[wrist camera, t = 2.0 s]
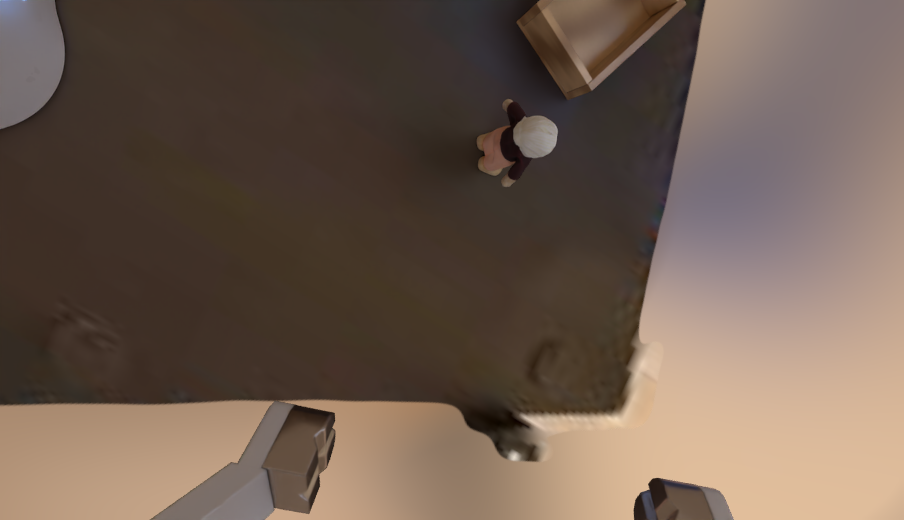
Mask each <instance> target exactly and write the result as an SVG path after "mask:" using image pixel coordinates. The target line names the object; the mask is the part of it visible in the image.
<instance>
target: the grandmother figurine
mask: <svg viewBox="0 0 904 520" xmlns="http://www.w3.org/2000/svg"><path fill="white" fill-rule="evenodd" d="M503 109H504V110H505V111H506V112H507V114H508V118H509V121H510V126H504V127H501V128H498V129H496V130H494V131H493V132H490V133H486V134H483V135H480V136H479V137H478V138H477V147H478V149H480V150H482V151H484V153H485V156H482V157H481V158H480V159H479V161H478V168H479V169H480V170H481V171H483V172H485V173H487V174H490V175H493V176H496V175H498V174H499V173H500V172H501V171H502V168H505V167H508V166H510V165H512V164H513V163H515V164H514V165H513V166H512V167H511V168H510V170H509V172H508V173H507V174H506V176H505V177H503V179H502V181H501V183H502V185H503V186H505V187H509V186H511V184H512V183H514V182H515V181H516V180H518V179H519V178H520V176H521V175H522V173H523V172H524V170H525V168H526V167H527V166H528V165H529V163H530V161H531V159H532V158H537V157H543V156H545V155H547V154H549V153H550V152H551V151H552V150H553V148H554V147H555V145H556V141H557V133H558V130H557V127H556V125H555V124H554V123H553V122H552V121H550V120H549V119H547V118H546V117H543V116H531V117H528V118H527V116H526V114H525V112H524V111H523V110H522V108H521V107H520V105H519V104H518V103H517V102H513V101H512V100H510V99H507V100H505V101H504V102H503Z"/></svg>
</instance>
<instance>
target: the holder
mask: <svg viewBox="0 0 904 520" xmlns="http://www.w3.org/2000/svg"><path fill="white" fill-rule="evenodd" d="M685 5H686V3H685V1H684V0H540V1H538V2H537V3H536V4H535V5H534V6H533V7H532V8H531V9H530V10H529V11H527V12H526V13H525V14H524V15H523V16H522V17H521V18H520V19H519V20H518V21H517V24H518V26H519V27H520V29H521V30H522V32H523V33H524V35H525V36H526V38H527V39H528V41H529V42H530V44H531V45H532V47H533V48H534V50H535V51H536V53H537V54H538V56H539V57H540V59H541V60H542V62H543V64H544V65H545V67H546V68H547V70H548V71H549V73H550V74H551V76H552V77H553V79H554V80H555V82H556V83H557V85H558V86H559V88H560V89H561V91H562V92H563V94H564V95H565V97H566V98H567V100H569V99H572V98H574V97H577V96H580V95H582V94H585V93H588V92H590V91H592V90H593V89H595V88H596V87H597V86H598V85H599V84H600V83H601V82H602V81H603V80H604V79H605V78H607V77H608V76H609V75H610V74H611V73H612V72H613V71H614V70H615V69H616V68H617V67H619V66H620V65H621V64H622V63H623V62H624V61H625V60H626V59H627V58H628V57H629V56H631V55H632V54H633V53H634V52H635V51H636V50H637V49H638V48H639V47H640V46H641V45H643V44H644V43H645V42H646V41H647V40H648V39H649V38H650V37H651V36H652V35H653V34H655V33H656V32H657V31H658V30H659V29H660V28H661V27H662V26H663V25H664V24H666V23H667V22H668V21H669V20H670V19H671V18H672V17H673V16H674V15H675V14H676V13H678V12H679V11H680V10H681V9H682V8H683V7H684V6H685Z"/></svg>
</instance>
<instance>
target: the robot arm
mask: <svg viewBox="0 0 904 520" xmlns="http://www.w3.org/2000/svg"><path fill="white" fill-rule="evenodd" d="M64 61H65V47H64V39H63V34H62V30H61V26H60V23H59V19H58V16H57V12H56V7H55V0H0V129H2V128H6V127H9V126H12V125H14V124H17V123H19V122H21V121H23V120H25V119H27V118H28V117H30V116H32V115H33V114H34V113H36V112H37V111H38V110H39V109H41V108H42V107H43V106H44V105H45V104H46V103H47V102H48V100H49V99H50V98H51V96H52V95H53V93H54V92H55V90H56V88H57V86H58V84H59V82H60V79H61V76H62V72H63V68H64ZM334 422H335V413H333V412H327V411H322V410H318V409H313V408H307V407H302V406H298V405H294V404H289V403H284V402H279V401H274V403H273V404H272V405H271V406H270V407H269V408H268V410H267V412H266V414H265V415H264V417H263V419H262V421H261V422H260V424H259V426H258V428H257V429H256V431H255V433H254V435H253V437H252V439H251V440H250V442H249V444H248V445H247V447H246V449H245V451H244V452H243V454H242V456H241V458H240V459H239V461H238V463H232V462H231V463H230V464H229V465H227V466H225V467H224V468H223V469H221V470H220V471H219V472H217V473H215V474H214V475H213V476H211V477H210V478H208V479H207V480H206V481H204V482H203V483H201V484H200V485H198V486H197V487H196V488H194V489H193V490H191V491H190V492H189V493H187V494H186V495H184V496H183V497H181V498H180V499H179V500H177V501H176V502H175V503H173V504H172V505H170V506H169V507H167V508H166V509H164V510H163V511H162V512H160V513H159V514H157V515H156V516H155V517H153V518H152V519H150V520H265V519H266V518H267V517H268V516H269V515H270V514H271V513H272V512H273V511H274V508H278V509H283V510H289V511H295V512H301V513H306V514H309V513H310V510H311V508H312V505H313V503H314V500H315V497H316V495H317V492H318V490H319V487H320V480H319V474H320V473H321V472H322V471H324V470H325V469H326V468H327V466H328V463H329V460H330V457H331V454H332V450H333V447H334V442H335V430H334V429H333V428H332V427H333V424H334ZM648 485H649V489H650V490H647V491H644V492H641V493H640V494H639V496H638V497H637V498H636V500H635V506H634V520H734V519H733V517H732V514H731V512H730V510H729V507H728V505H727V502H726V500H725V498H724V496H723V495H722V494H721V492H720V491H718V490H716V489H713V488H708V487H702V486H698V485H694V484H689V483H683V482H678V481H672V480H666V479H661V478H654V479H652V480H651V481H650V482H649V484H648Z"/></svg>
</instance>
